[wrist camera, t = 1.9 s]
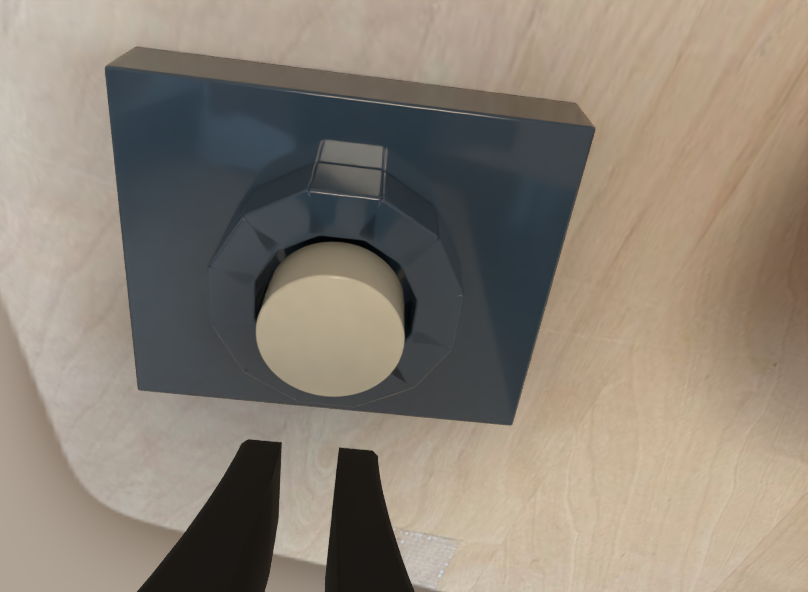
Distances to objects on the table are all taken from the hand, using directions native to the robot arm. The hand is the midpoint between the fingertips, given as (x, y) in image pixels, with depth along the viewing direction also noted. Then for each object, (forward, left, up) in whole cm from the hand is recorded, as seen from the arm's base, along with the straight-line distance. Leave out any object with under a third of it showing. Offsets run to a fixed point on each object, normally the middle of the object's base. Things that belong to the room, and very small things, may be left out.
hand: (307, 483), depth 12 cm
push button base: (0, 0, -10) cm, 10 cm away
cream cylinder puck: (0, 0, -6) cm, 6 cm away
